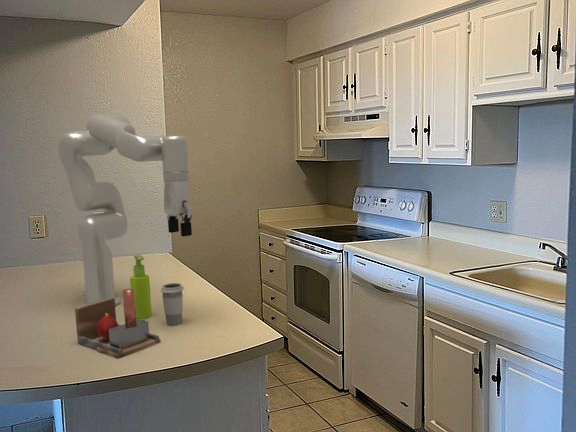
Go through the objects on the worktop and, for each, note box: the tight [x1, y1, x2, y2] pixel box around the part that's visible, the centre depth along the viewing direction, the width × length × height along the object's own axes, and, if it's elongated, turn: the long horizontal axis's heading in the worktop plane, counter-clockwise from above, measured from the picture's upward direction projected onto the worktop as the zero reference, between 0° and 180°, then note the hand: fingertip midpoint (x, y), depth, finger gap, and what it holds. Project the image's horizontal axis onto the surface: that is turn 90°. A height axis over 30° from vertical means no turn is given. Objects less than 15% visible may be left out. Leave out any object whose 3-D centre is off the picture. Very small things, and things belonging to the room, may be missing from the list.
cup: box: [160, 282, 185, 327], centre depth 172 cm, size 7×7×12 cm
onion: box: [97, 313, 119, 341], centre depth 159 cm, size 6×6×8 cm
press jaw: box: [109, 288, 150, 349], centre depth 153 cm, size 5×10×15 cm, turn 142°
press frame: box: [74, 298, 162, 359], centre depth 157 cm, size 20×14×10 cm
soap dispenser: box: [129, 254, 153, 320], centre depth 179 cm, size 6×7×20 cm
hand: (180, 233), depth 170 cm, fingers open, 9 cm apart
